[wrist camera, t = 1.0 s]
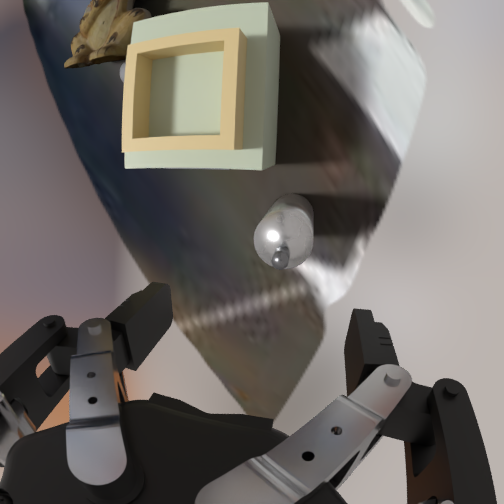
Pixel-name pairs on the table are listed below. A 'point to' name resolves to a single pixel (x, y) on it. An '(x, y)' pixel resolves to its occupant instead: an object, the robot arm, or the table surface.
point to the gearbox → (202, 89)
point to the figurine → (105, 32)
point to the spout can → (286, 232)
